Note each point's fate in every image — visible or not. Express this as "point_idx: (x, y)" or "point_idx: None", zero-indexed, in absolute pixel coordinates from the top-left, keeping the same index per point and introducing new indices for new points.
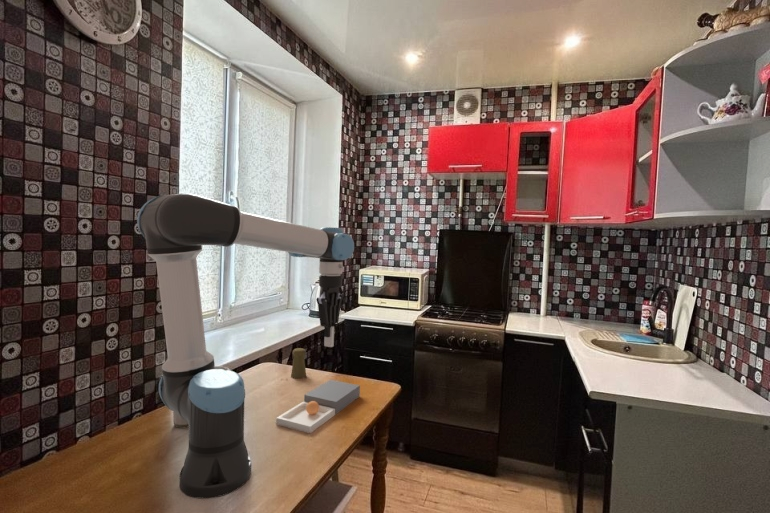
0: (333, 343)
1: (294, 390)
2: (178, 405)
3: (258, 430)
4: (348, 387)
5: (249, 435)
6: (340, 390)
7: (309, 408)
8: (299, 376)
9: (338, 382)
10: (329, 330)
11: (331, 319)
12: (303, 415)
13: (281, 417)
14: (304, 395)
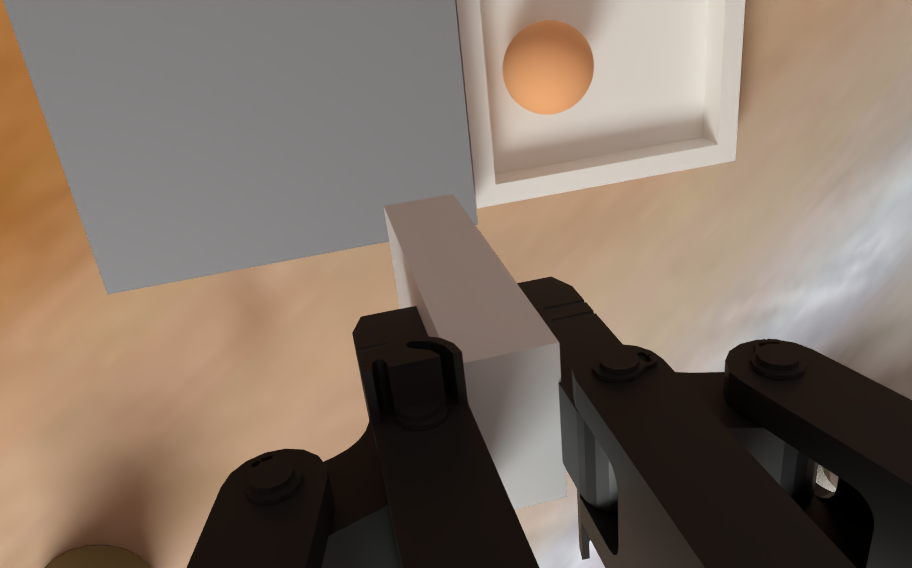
0: (396, 220)
1: (301, 424)
2: None
3: (797, 171)
4: (127, 48)
5: (850, 164)
6: (234, 62)
7: (593, 60)
8: (123, 562)
9: (103, 199)
10: (560, 341)
11: (654, 475)
12: None
13: (720, 140)
14: (475, 222)
